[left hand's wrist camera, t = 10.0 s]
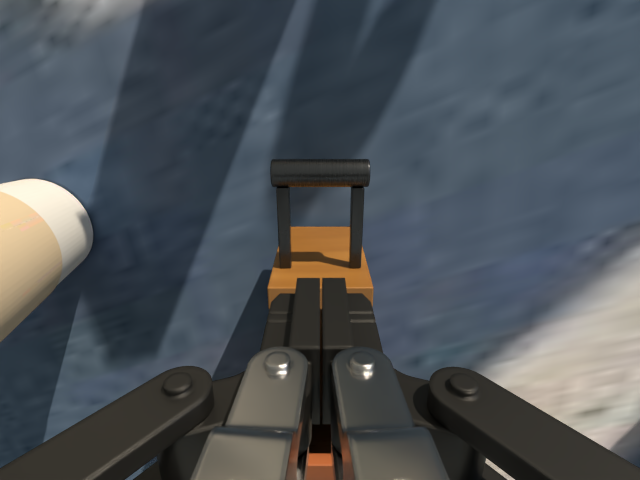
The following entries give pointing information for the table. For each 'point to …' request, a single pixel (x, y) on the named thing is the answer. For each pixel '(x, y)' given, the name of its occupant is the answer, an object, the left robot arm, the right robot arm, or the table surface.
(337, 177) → the drawer
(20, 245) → the coffee cup
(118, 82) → the table surface
